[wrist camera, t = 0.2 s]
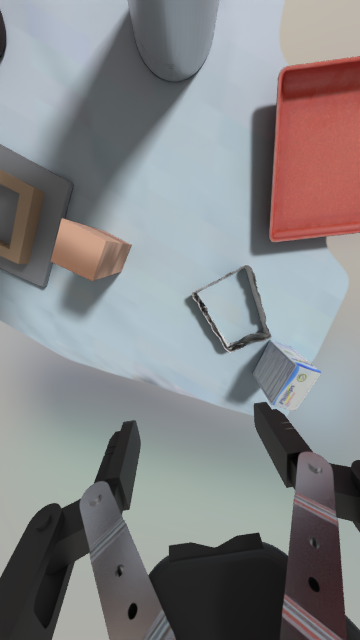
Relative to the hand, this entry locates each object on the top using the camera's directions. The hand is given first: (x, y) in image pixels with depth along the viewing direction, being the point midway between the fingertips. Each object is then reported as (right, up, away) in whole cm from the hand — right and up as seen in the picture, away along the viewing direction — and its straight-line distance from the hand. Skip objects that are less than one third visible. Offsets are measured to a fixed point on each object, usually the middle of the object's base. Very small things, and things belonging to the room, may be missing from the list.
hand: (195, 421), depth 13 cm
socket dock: (-27, +23, +15) cm, 38 cm away
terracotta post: (-12, +18, +17) cm, 27 cm away
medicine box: (+16, -1, +24) cm, 29 cm away
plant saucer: (+20, +28, +14) cm, 37 cm away
